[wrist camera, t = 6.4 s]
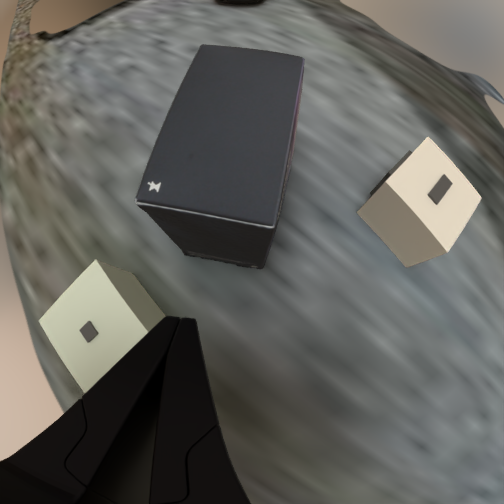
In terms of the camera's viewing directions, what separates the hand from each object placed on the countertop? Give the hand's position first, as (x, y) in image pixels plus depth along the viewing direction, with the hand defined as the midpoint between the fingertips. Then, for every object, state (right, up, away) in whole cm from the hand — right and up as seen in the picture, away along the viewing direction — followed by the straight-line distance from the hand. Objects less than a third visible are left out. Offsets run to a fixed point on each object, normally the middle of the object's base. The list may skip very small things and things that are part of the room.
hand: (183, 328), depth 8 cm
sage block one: (-7, -4, +13) cm, 15 cm away
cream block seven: (+14, +5, +15) cm, 21 cm away
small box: (+1, +6, +15) cm, 16 cm away
